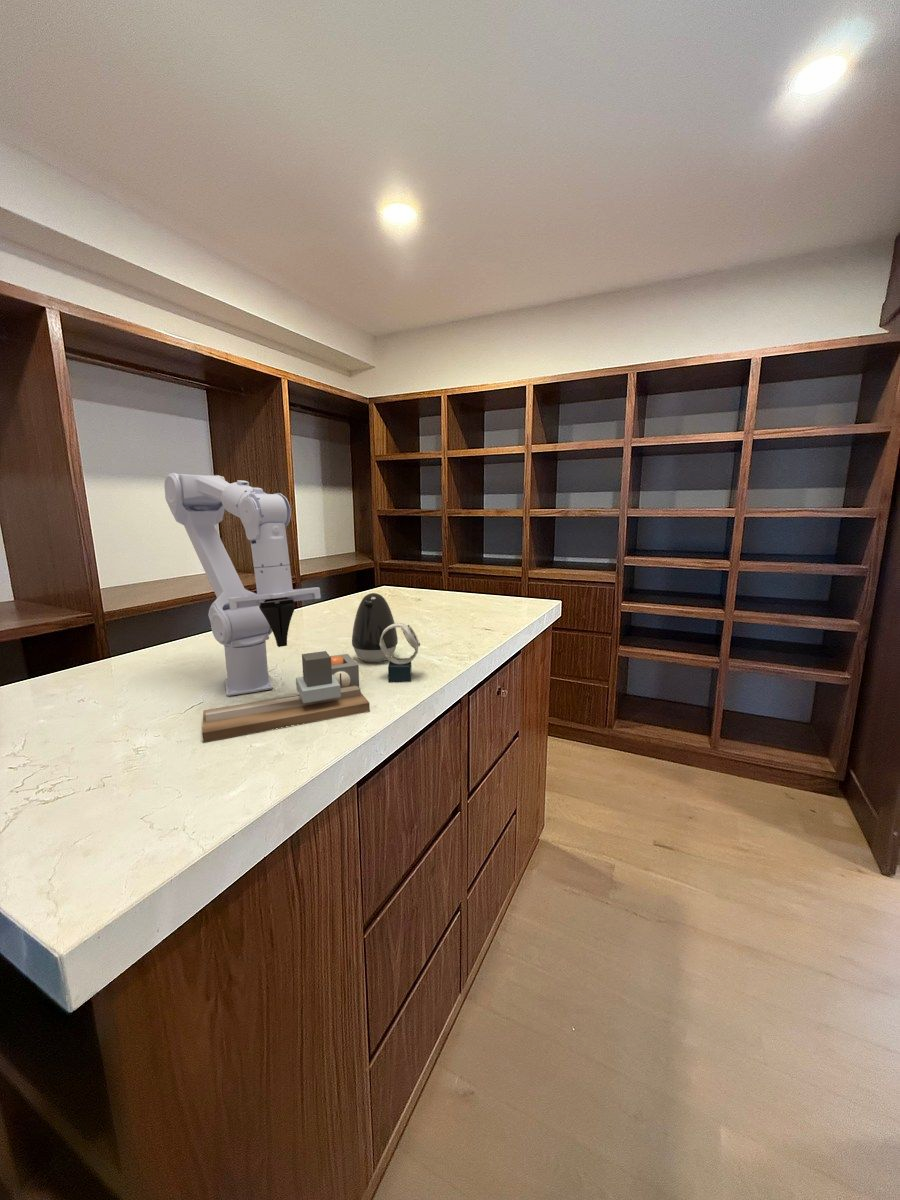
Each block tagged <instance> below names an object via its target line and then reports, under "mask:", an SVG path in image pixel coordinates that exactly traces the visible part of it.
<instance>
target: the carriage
mask: <svg viewBox="0 0 900 1200" xmlns="http://www.w3.org/2000/svg"><path fill="white" fill-rule="evenodd" d="M330 656H331V655H330V654H329V653H328V652H327V650H323V651H315V652H314V651H313V652H310V653H302V654H301V661H302V662H301V666H302V676H297V677H296V678H295V682H296V690H297V692H298V695H300V697H301V699H302V701H303V703H308V702H314V701H320V700H325V699H331V698H337V697H341V687H340V684H339V683H338V681H337V680H336V679H335V677H334V676H333V675H332V668H331V657H330Z"/></svg>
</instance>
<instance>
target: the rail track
mask: <svg viewBox="0 0 900 1200" xmlns="http://www.w3.org/2000/svg"><path fill="white" fill-rule="evenodd" d="M370 711H371V709H370V702H369V701H368V699H367V698H366V697H365V695H364V694H363V693H362V692H361V688H360V686H359V687H358V686H350V687H343V688H341V697H337V698H331V699H325V700H320V701H314V702H308V703H303V701H302V699H301V697H300V695H299V694H295V695H289V696H282V697H278V698H271V699H265V700H264V699H263V700H259V701H251V702H246V703H239V704H234V705H228V706H221V707H215V708H210V709H204V710H203V711H202V712H203V714H202V727H201V728H202V731H201V734H202V742H203V743H202V744H204V743H209V742H215V741H219V740H224V739H229V738H236V737H240V736H245V735H250V734H255V733H256V734H257V733H262V732H266V731H267V730H268V731H272V729H273V730H277V729H276V728H278V729H282V728H281V727H283V728H287V727H286V726H289V727H292V726H291V725H294V726H298V725H297V724H299V725H304V724H303V723H305V724H309V723H310V724H311V723H314V722H321V721H324V720H331V719H335V718H341V717H347V716H350V715H351V716H352V715H356V714H362V713H368V712H370Z"/></svg>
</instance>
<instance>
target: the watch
mask: <svg viewBox="0 0 900 1200" xmlns="http://www.w3.org/2000/svg"><path fill="white" fill-rule="evenodd" d="M394 623H395V624H391V625H390V626H388V627H387V628H386V629H385V630H384V631H383V633H382V635H381V638H380V648H381V651H382V653H383V654H384V656H385V657H386V659H387V660H386V661H387V662H388V666H387V671H388V673H387V674H388V675H387V676H388V683H411V681H412V673H413V672H412V661H414V659H415V658H416V657H417V654H418V653H419V647H421V642H420V640H419V638H418V636H417V634H416V632H415V631H414V629H413V628H412V626H410V625H409V624H407V625H406V624H405V623H402V622H400V623H399V622H394ZM392 628H396V629H397V628H400V629H401V631H402V632H403V633H402V634H403V635H404V637H405V639H406V642H408V643H407V644H409V645H410V647H411V648H413V649H414V652H413V654H412V655H411V656H409V657H406V658H405V657H404V658H403V657H402V658H398V657H397V658H394V657H393V655H391V654H390V653H389V651H388V650H387V648H386V646H385V643H384V639H382V638H383V635H384V634H385V633H386V631H388V630H389V629H392Z"/></svg>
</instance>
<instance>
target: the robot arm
mask: <svg viewBox="0 0 900 1200" xmlns="http://www.w3.org/2000/svg"><path fill="white" fill-rule="evenodd" d="M164 496H165V497H164V498H165V501H166V503H167V505H168V506H167V507H169V510H170V512H171V514H172V516H173V518H174V520H175V521H176V523H178V524H181V525H182V526H184V528H185V532H186V533H187V535H188V538H189V540H190V542H191V545H192V547H193V549H194V551H195V553H196V555H197V557H198V559H199V563H200V564H201V565H202V569H203V570H204V572H205V575H206V577H207V578H208V580H209V584H210V586H211V588H212V590H213V592H214V594H215V597H216V599H215V600H214V601H213V602H212V603H211V605H210V607H209V609H208V614H207V615H208V619H209V622H210V627H211V633H212V635H213V637H214V639H215V640H216V641H217V642H218V643H219V644H220V645H223V647H224V656H225V657H224V658H225V667H226V678H225V679H224V682H225V694H226V697H231V696H236V695H243V694H250V693H256V692H264V691H269V690H273V689H274V687H273V684H272V680H271V677H270V675H269V669H268V668H269V667H268V656H267V641H268V640H269V639H270V635H271V634H273V637H274V639H275V643H276V646H277V648H282V647H286V646H288V635H289V634H288V633H289V628H290V625H291V620H292V617H293V614H294V613H295V608H296V603H295V602H299V601H309V600H320V599H321V597H322V595H321V588H320V587H319V586H318V587H307V588H305V587H304V588H295V589H294V588H293V582H292V581H293V580H292V573H291V572H292V571H291V564H290V562H291V561H290V555H289V546H288V539H287V531H286V529H287V528H286V527H287V526H289V523H290V521H291V517H292V509H291V506H290V502H289V500H288V498H287V497H286V496H285V495H283V494H282V493H281V492H276V493H273V494H272V493H266V492H265V491H264V489H263V488H260V487H254V486H250V482H249V481H247V480H239V479H238V480H236V482H232V483H229V481H226V479H225V477H224V476H223V475H222V476H221V475H218V474H213V475H208V474H207V475H206V474H205V475H204V474H185V473H176V472H169V474H168V475H167V476H166V477H165V480H164ZM225 510H226V511H227V512H228V513H230V514H232V515H233V516H235V517H238V518H239V519H240V521H241V524H242V526H243V528H244V530H245V531H244V532H245V537H246V538H247V540H248V541H250V548H251V549H250V550H251V557H252V563H253V565H252V566H253V570H254V571H253V572H254V578H255V585H256V592H253V591H250V590H248V589H247V588H245V587H244V585H243V582H242V579H241V578H240V577H239V574H238V572H237V570H236V568H235V565H234V564H233V562H232V559H231V558H230V555H229V554H228V552H227V549H226V548H225V546H224V543H223V541H222V539H221V537H220V535H219V533H218V531H217V528H216V525H218V524H219V523H221V522H222V521H223V519H224V514H225ZM282 598H283V599H282ZM274 599H277V600H274ZM266 600H269V601H266Z"/></svg>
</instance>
